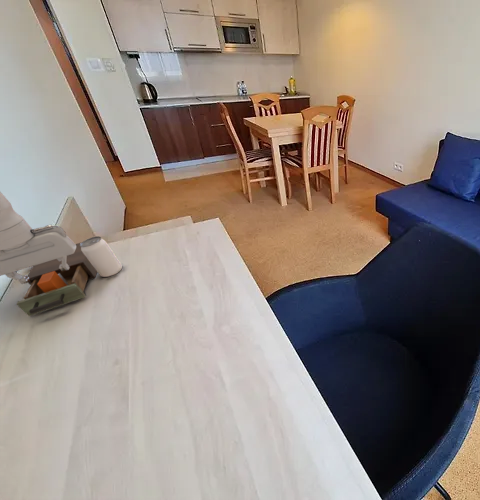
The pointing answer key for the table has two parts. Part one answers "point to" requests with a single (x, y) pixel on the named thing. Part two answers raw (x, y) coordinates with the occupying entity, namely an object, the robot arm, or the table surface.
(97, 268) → the can
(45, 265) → the cabinet
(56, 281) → the orange wooden toy brick
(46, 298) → the drawer
